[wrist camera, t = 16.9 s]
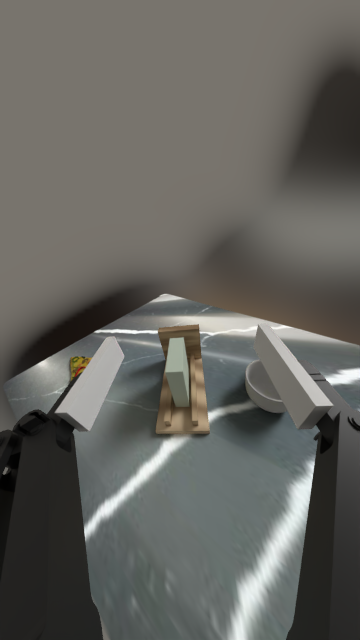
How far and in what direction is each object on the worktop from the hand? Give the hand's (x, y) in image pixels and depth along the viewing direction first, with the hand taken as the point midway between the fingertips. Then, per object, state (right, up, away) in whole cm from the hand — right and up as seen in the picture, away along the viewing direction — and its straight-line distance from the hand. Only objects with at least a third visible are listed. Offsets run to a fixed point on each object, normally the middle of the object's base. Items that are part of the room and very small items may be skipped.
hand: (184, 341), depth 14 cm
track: (+1, -18, +28) cm, 33 cm away
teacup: (+22, -17, +25) cm, 37 cm away
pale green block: (0, -17, +26) cm, 31 cm away
